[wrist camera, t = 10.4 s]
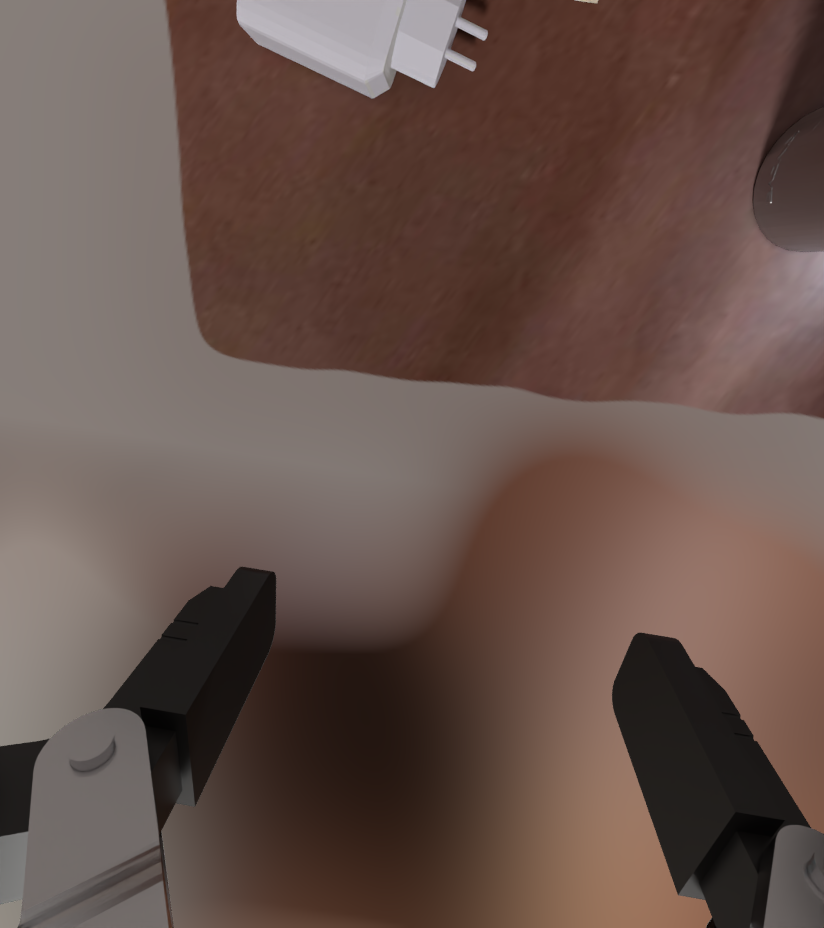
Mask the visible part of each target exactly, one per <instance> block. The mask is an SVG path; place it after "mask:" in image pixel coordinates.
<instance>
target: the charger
mask: <svg viewBox="0 0 824 928" xmlns="http://www.w3.org/2000/svg"><path fill="white" fill-rule="evenodd" d="M465 2H466V0H237V20H238V23H239V24H240V25H241V27H242V28H243V29H244V30H245V31H246V32H247V33H248V34H249V35H250V36H251V37H252V38H253V40H254V41H255V42H256V43H257V44H259V45H261V46H263V47H265V48H267V49H269V50H272V51H274V52H276V53H278V54H280V55H282V56H284V57H286V58H288V59H290V60H293V61H295V62H297V63H299V64H301V65H303V66H305V67H307V68H309V69H311V70H314V71H316V72H318V73H320V74H322V75H324V76H326V77H328V78H330V79H332V80H335V81H337V82H339V83H341V84H343V85H345V86H347V87H349V88H351V89H353V90H356V91H358V92H360V93H362V94H364V95H366V96H368V97H370V98H372V99H373V98H375V97H377V96H378V95H380V94H382V93H383V92H385V91H387V90H389V89H390V88H391V86H392V83H393V80H394V77H395V74H396V70H397V71H399V72H401V73H403V74H405V75H407V76H410V77H412V78H414V79H416V80H418V81H420V82H422V83H424V84H426V85H428V86H430V87H432V88H435V86H436V85H437V83H438V80H439V78H440V76H441V73H442V71H443V68H444V66H445V63H446V61H447V59H448V60H450V61H452V62H454V63H456V64H458V65H460V66H462V67H464V68H466V69H468V70H471V71H474V70H475V68H476V62H475V61H473V60H471V59H469V58H467V57H465V56H463V55H461V54H459V53H457V52H455V51H453V50H451V46H452V43H453V40H454V37H455V35H456V32H457V29H458V28H459V29H461V30H463V31H465V32H467V33H470V34H472V35H474V36H476V37H478V38H480V39H482V40H485V39H486V38H487V35H488V31H487V30H485V29H483V28H481V27H479V26H477V25H475V24H473V23H471V22H469V21H467V20H465V19H463V18H461V16H462V12H463V9H464V5H465Z"/></svg>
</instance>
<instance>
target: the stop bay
mask: <svg viewBox="0 0 824 928" xmlns="http://www.w3.org/2000/svg"><path fill="white" fill-rule="evenodd" d="M574 1H582V2H590V3H597V2H598V0H574Z"/></svg>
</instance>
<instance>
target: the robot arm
mask: <svg viewBox="0 0 824 928" xmlns="http://www.w3.org/2000/svg"><path fill="white" fill-rule="evenodd" d="M753 206H754V214H755V218H756V221H757V223H758V226H759V228H760V230H761V231H762V233H763V234H764V235H765V237H766V238H767V239H768V240H770V241H771V242H772V243H774V244H775V245H776V246H779V247H781V248H784V249H786V250H791V251H798V252H815V251H824V107H822V108H819V109H817V110H815V111H814V112H812V113H810V114H808V115H806V116H804V117H803V118H801V119H800V120H799V121H798V122H796V123H795V124H794V125H792V126H791V127H790V128H789V129H788V130H787V131H786V132H785V133H784V134H783V135H782V136H781V137H780V138H779V139H778V140H777V141H776V143H775V144H774V146H773V147H772V149H771V150H770V152H769V153H768V155H767V156H766V158H765V160H764V162H763V164H762V166H761V168H760V171H759V173H758V176H757V180H756V184H755V187H754V198H753ZM275 625H276V575H275V573H274V572H271V571H265V570H259V569H252V568H247V567H240V568H239V569H237V570H236V572H235V573H234V575H233V576H232V577H231V579H230V580H229V582H228V583H227V585H226V586H225V587H224V588H219V587H213V586H210V587H209V588H207V589H206V590H204V591H202V592H201V593H200V594H198V595H196V596H195V597H193V598H192V599H190V600H189V601H188V602H187V603H186V605H185V606H184V607H183V609H182V610H181V612H180V613H179V614H178V615H177V616H176V618H175V619H174V622H173V623H171V624H170V625H169V626H168V628H167V629H166V630H165V631H164V633H163V634H162V637H161V639H158V640H157V642H156V643H155V644H154V646H153V647H152V648H151V650H150V651H149V652H148V653H147V654H146V656H145V657H144V658H143V659H142V661H141V662H140V663H139V665H138V666H137V667H136V669H135V670H134V671H133V672H132V674H131V675H130V676H129V678H128V679H127V680H126V681H125V682H124V684H123V685H122V686H121V687H120V689H119V690H118V691H117V693H116V694H115V695H114V697H113V698H112V699H111V700H110V702H109V703H108V704H107V705H106V706H105V707H104V708H103V709H100V710H97V711H93V712H91V713H88V714H85V715H83V716H81V717H79V718H77V719H75V720H73V721H72V722H70V723H68V724H67V725H65V726H64V727H63V728H61V729H60V730H59V731H58V732H57V733H56V734H54V735H53V736H52V737H51V738H50V739H47V740H42V741H37V742H30V743H22V744H15V745H7V746H1V747H0V904H4V903H8V902H13V901H17V900H21V899H23V902H22V911H21V918H20V923H19V926H18V928H174V925H173V917H172V909H171V902H170V894H169V886H168V878H167V871H166V863H165V855H164V847H163V839H162V832H161V830H162V828H163V827H164V825H165V823H166V821H167V819H168V817H169V815H170V813H171V811H172V809H173V807H174V805H175V803H177V804H183V805H188V806H196V804H197V802H198V800H199V797H200V795H201V793H202V791H203V789H204V787H205V785H206V783H207V781H208V778H209V777H210V774H211V772H212V770H213V768H214V766H215V764H216V762H217V759H218V758H219V755H220V754H221V751H222V749H223V747H224V745H225V743H226V741H227V739H228V737H229V735H230V733H231V731H232V728H233V726H234V724H235V722H236V720H237V718H238V716H239V714H240V711H241V709H242V707H243V705H244V703H245V701H246V699H247V697H248V695H249V693H250V691H251V689H252V687H253V684H254V682H255V680H256V678H257V676H258V674H259V672H260V670H261V668H262V666H263V663H264V661H265V659H266V657H267V655H268V653H269V650H270V647H271V645H272V641H273V637H274V631H275ZM612 691H613V692H612V702H613V709H614V713H615V715H616V718H617V721H618V724H619V727H620V730H621V733H622V736H623V739H624V742H625V744H626V747H627V750H628V753H629V756H630V759H631V762H632V765H633V767H634V770H635V773H636V776H637V778H638V782H639V785H640V787H641V790H642V793H643V796H644V799H645V801H646V805H647V807H648V810H649V813H650V816H651V819H652V822H653V824H654V827H655V830H656V833H657V836H658V839H659V842H660V845H661V847H662V850H663V853H664V856H665V859H666V862H667V864H668V867H669V870H670V873H671V876H672V879H673V882H674V885H675V888H676V890H677V893H678V895H681V896H686V897H692V898H698V899H703V900H706V902H707V905H708V908H709V910H710V913H711V915H712V918H711V920H710V921H709V922H708V924H707V926H706V928H824V834H822V833H820V832H818V831H817V830H814V829H811V827H810V826H809V824H808V822H807V821H806V819H805V818H804V816H803V814H802V813H801V811H800V810H799V808H798V806H797V805H796V803H795V802H794V800H793V798H792V797H791V795H790V794H789V792H788V790H787V789H786V787H785V786H784V784H783V782H782V781H781V779H780V777H779V776H778V774H777V773H776V771H775V769H774V768H773V766H772V765H771V763H770V762H769V760H768V758H767V757H766V755H765V754H764V752H763V750H762V749H761V747H760V746H759V744H758V742H757V741H754V739H753V734H752V733H751V731H750V730H749V728H748V726H747V725H746V723H745V722H744V720H741V719H740V714H739V712H738V710H737V709H736V707H735V705H734V704H733V702H732V701H731V699H730V698H729V696H728V694H727V693H726V691H725V690H724V689H723V688H722V687H721V686H720V685H719V684H718V683H717V682H716V681H715V680H714V679H713V678H712V677H711V676H710V675H708V673H707V672H706V671H705V670H704V669H703V668H698V667H695V666H694V664H693V663H692V661H691V659H690V658H689V656H688V654H687V653H686V651H685V649H684V647H683V646H682V644H681V643H680V642H679V641H678V640H677V639H675V638H670V637H664V636H658V635H652V634H645V633H637V634H636V635H635V636H634V637H633V639H632V641H631V644H630V646H629V648H628V651H627V653H626V655H625V658H624V660H623V662H622V665H621V667H620V669H619V672H618V674H617V676H616V679H615V681H614V685H613V690H612Z"/></svg>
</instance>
